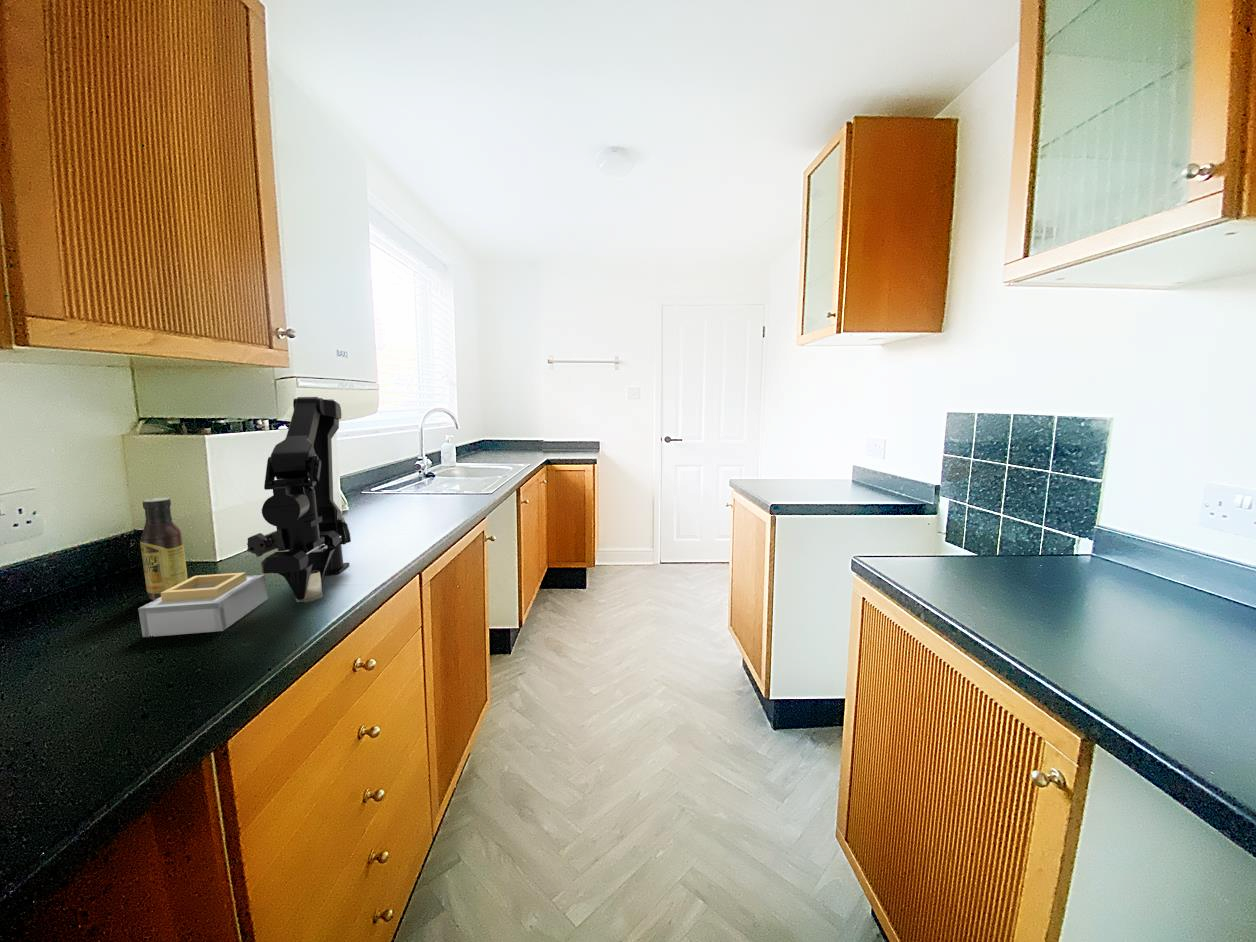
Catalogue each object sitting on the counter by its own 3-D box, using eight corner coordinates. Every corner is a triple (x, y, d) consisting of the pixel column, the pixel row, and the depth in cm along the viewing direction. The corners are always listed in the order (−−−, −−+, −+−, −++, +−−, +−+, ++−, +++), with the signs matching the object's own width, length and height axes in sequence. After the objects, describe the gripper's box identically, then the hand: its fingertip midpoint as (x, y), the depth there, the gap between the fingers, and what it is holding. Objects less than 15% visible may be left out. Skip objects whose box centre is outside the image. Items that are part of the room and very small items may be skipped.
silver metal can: (302, 594, 102) (299, 570, 102) (326, 593, 103) (323, 569, 102) (291, 603, 98) (288, 578, 97) (316, 601, 99) (313, 576, 98)
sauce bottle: (142, 598, 102) (126, 500, 99) (181, 588, 107) (166, 495, 104) (157, 604, 99) (141, 503, 96) (196, 593, 104) (182, 497, 101)
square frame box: (199, 604, 98) (194, 571, 98) (267, 599, 100) (263, 567, 99) (142, 637, 85) (136, 599, 84) (222, 630, 87) (217, 594, 86)
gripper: (279, 506, 106) (288, 579, 108) (222, 529, 88) (234, 616, 90) (336, 504, 108) (344, 575, 110) (293, 525, 89) (303, 611, 92)
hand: (308, 592), depth 100 cm, fingers open, 6 cm apart
